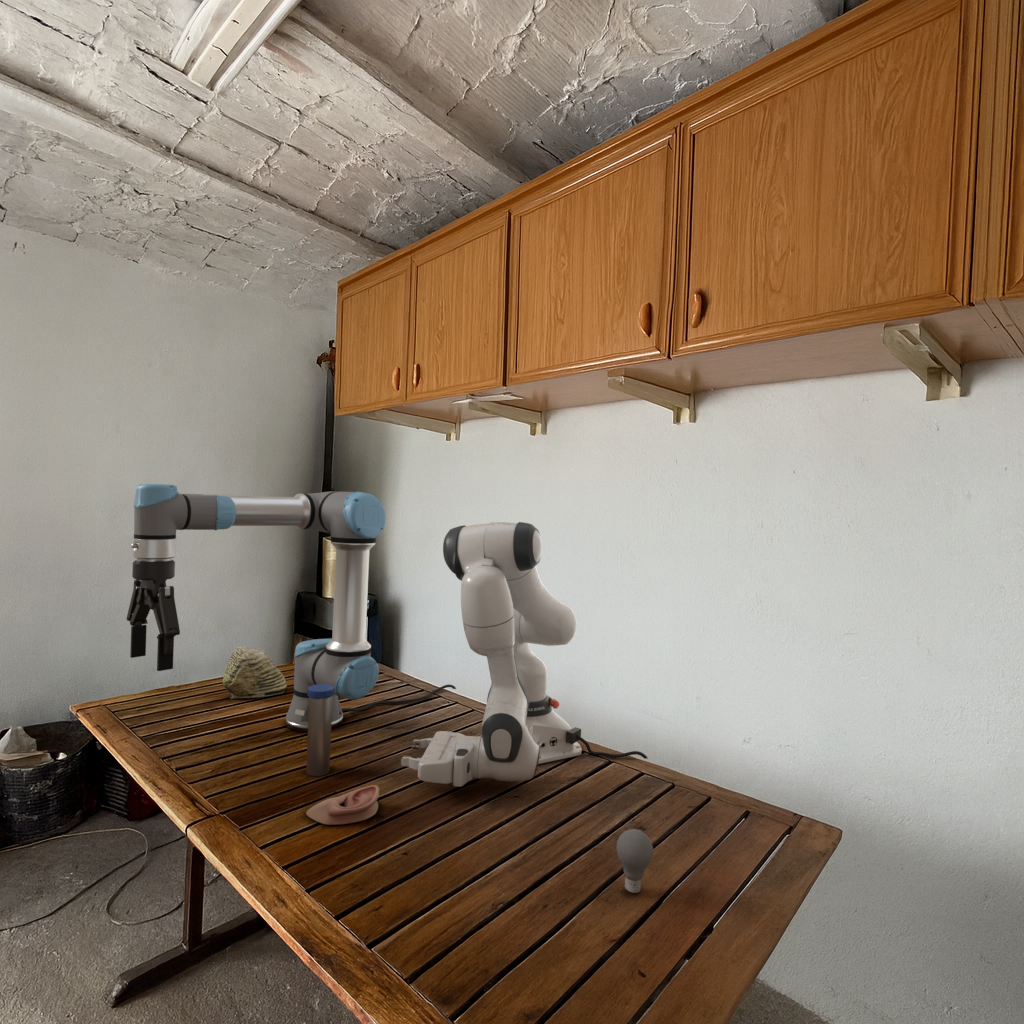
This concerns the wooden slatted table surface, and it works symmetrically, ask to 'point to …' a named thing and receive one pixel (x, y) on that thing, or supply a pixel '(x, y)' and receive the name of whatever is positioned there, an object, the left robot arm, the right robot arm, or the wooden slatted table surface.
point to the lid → (320, 691)
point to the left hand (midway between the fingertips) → (151, 663)
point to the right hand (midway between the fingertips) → (407, 752)
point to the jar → (319, 736)
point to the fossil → (252, 674)
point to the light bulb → (634, 857)
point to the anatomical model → (347, 807)
